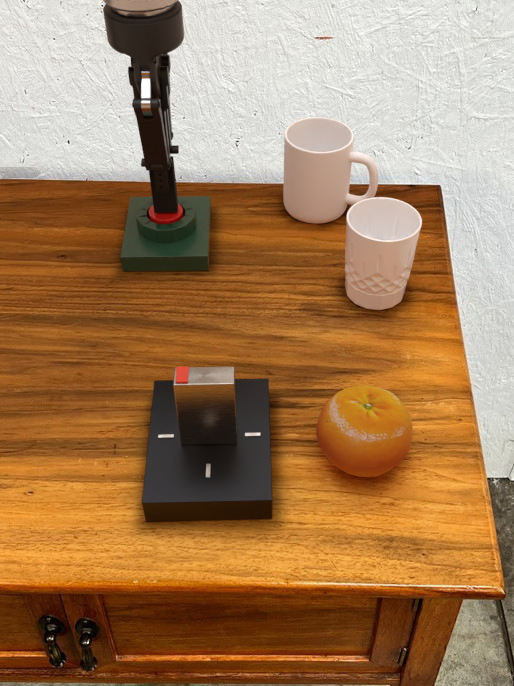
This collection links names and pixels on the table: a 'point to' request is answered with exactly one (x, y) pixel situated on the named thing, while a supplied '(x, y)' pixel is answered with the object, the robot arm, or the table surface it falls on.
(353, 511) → the table surface
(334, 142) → the cup
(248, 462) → the panel
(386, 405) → the fruit
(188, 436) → the knob
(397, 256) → the white cup
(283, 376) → the table surface
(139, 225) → the button block
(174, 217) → the button
